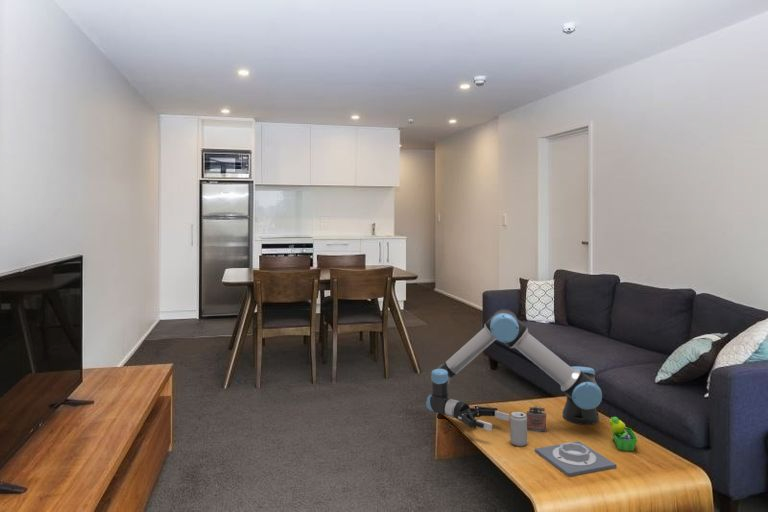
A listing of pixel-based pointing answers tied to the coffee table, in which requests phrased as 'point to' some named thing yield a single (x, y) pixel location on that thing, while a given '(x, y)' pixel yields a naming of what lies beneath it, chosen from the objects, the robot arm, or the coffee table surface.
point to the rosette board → (575, 469)
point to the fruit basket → (622, 435)
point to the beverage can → (518, 428)
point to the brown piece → (536, 419)
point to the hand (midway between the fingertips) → (500, 422)
